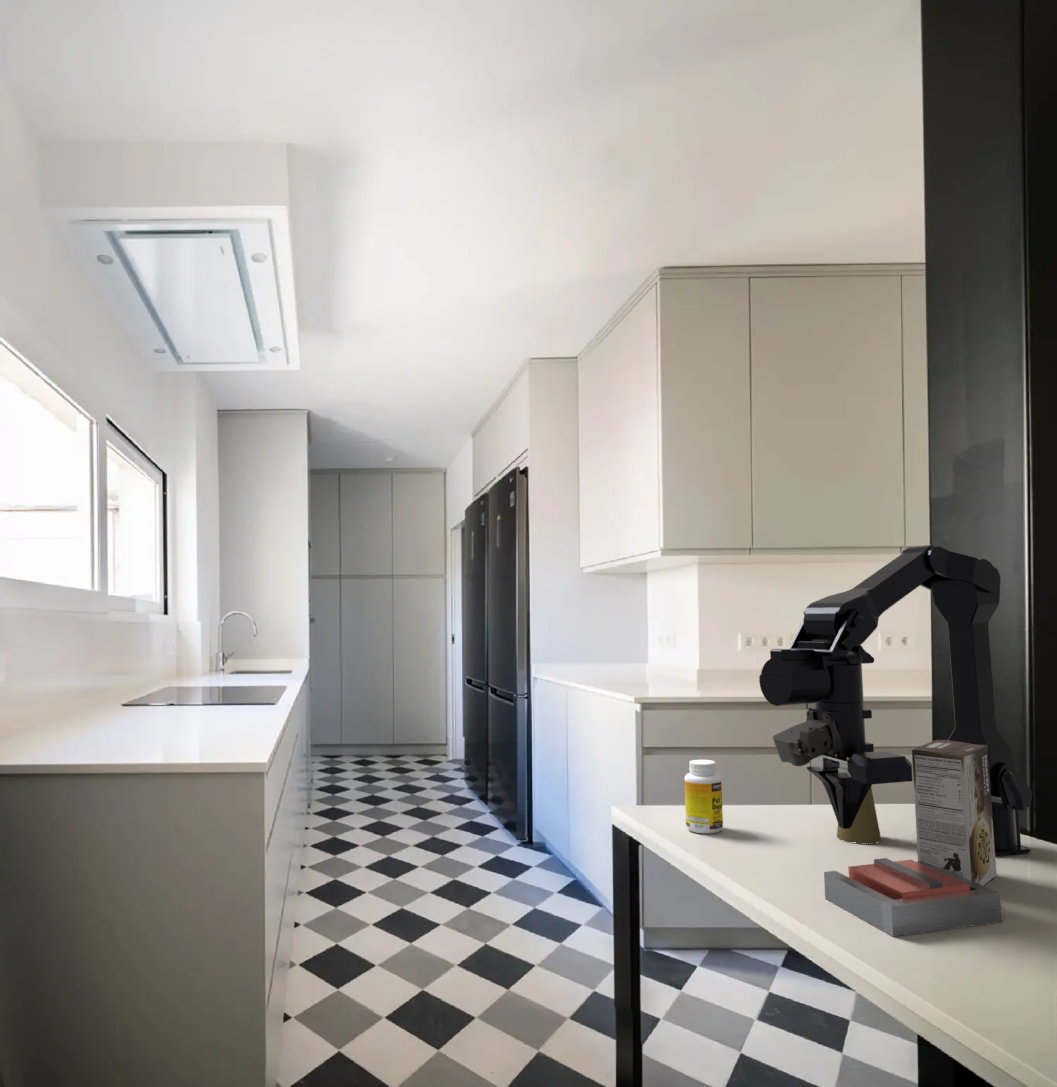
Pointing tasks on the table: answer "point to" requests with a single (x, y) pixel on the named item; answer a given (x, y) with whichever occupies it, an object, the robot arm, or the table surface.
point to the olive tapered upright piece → (863, 824)
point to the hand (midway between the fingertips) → (845, 827)
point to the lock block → (905, 879)
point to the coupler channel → (914, 906)
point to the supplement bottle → (703, 798)
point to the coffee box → (954, 809)
